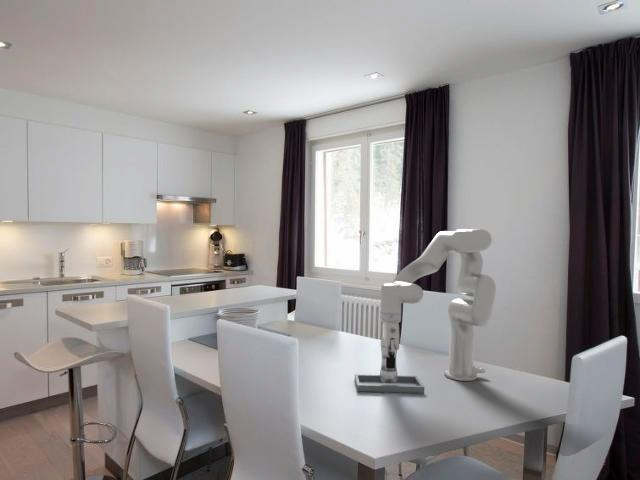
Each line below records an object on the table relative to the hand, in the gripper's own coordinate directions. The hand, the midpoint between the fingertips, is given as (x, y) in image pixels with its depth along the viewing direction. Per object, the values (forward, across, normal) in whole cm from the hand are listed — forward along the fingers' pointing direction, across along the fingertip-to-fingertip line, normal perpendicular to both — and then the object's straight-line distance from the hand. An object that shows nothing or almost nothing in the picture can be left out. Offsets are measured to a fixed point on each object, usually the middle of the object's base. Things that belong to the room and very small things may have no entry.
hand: (389, 365), depth 164 cm
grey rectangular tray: (+8, 0, 0) cm, 8 cm away
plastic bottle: (+7, 0, 0) cm, 7 cm away
